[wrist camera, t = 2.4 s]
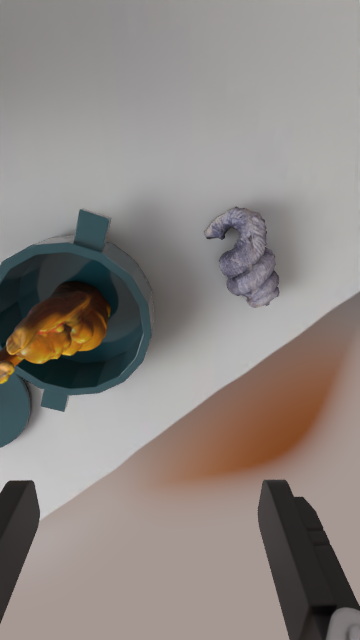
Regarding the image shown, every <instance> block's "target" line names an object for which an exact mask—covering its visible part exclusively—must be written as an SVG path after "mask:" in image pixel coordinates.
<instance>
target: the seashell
mask: <svg viewBox="0 0 360 640" xmlns="http://www.w3.org/2000/svg"><path fill="white" fill-rule="evenodd" d="M232 227H233V228H234V229H236V230H238V232H239V234H238V235H239V238H238V240H237V243H236V244H235V246H234V248H233V249H232V250H231V251H227V252H225V253H224V254H223V255H222V257H221V258H220V260H219V262H220V268H221V271H222V272H223V274H224V275H225V276H227V277H228V280H227V288H228V289H229V291H230V292H231V293H233V294H235V295H237V296H239V295H242V296H245V297H247V300H246V301H247V303H248V304H249V305H250V306H251V307H253V308H256V307H260V306H264V305H266V306H267V305H269V303H270V301H271V300H272V299H274V298H275V297H278V296H279V289H278V287H277V286H278V284H279V277H278V275H277V273H276V272H275V271H274V267H275V265H276V264H275V256H274V254H273V252H272V251H271V250H270V249H268V248H266V247H265V246H266V234H267V231H266V225H265V220H264V219H262V216H261V215H260V214H259V213H258V212H252V211H250V210H247V209H245V208H242V209H241V208H238V207H235V208H234V209H230V210H228V211H227V212H226V213H224V214H223V215H221V216H219V217H218V218H216V219H215V220H214V221H213V222H212V223H211V224H210V226H209V228H208V229H207V230H206V231H204V233H205V236H206V238H207V239H211V238H220V239H221V240H223V239H224V238H225V233H226V232H227V231H228V230H229V229H230V228H232Z"/></svg>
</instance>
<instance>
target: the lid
mask: <svg viewBox="0 0 360 640" xmlns="http://www.w3.org/2000/svg"><path fill="white" fill-rule="evenodd" d="M30 410H31V403H30V396H29V392H28V390H27V387H26V385H25V383H24V381H23V379H22V377H21V376H19V375H17V374H16V373H14V372H13V373H12V374H11V375H10V376H9V378H8V381H7V382H5V383H2V384H0V447H3V446H5V445H7V444H9V443H10V442H12V441H13V440H14V439H16V438H17V437H18V436H19V435H20V434H21V432H22V431H23V429H24V428H25V426H26V424H27V422H28V420H29V416H30Z"/></svg>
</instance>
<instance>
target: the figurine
mask: <svg viewBox="0 0 360 640" xmlns="http://www.w3.org/2000/svg"><path fill="white" fill-rule="evenodd" d="M110 312H111V306H110V304H109V303H108V302H107V301H106V300H105V298H104V296H103V295H102V294H101V292H100V291H99V290H98V289H97V288H96V287H94V286H92V285H89V284H86V283H84V282H80V281H69V282H65V283H62V284H60V285H59V286H58V287H57V288H56V289H55V290H54V292H53V294H52V295H51V296H50V297H49V298H47V299H45V300H43V301H42V302H40V303H38V304H37V305H35V306H33V307H32V309H31V310H30V311H29V313H28V315H27V316H26V317H25V318H24V319H23V320H22V321H21V322H20V323H19V324H18V325H17V326H16V327H15V329H14V332H13V333H12V334H11V335H10V337H9V338H8V339H7V341H6V345H5V346H4V347H3V348H2V350H1V351H0V384H2V383H5V382H7V381H8V378H9V376H10V375H11V374H12V373H13V372H14V371H15V368H14V367H15V366H16V365H17V364H18V363H19V362H21V361H22V360H23V359H26V360H28V361H29V362H32V363H37V364H42V363H45V362H46V361H48V360H49V359H58V358H59V357H60V356H61V354H63V355H68V356H71V355H73V354H75V353H76V352H77V351H88V350H91V349H94V348H96V347H97V346H99V345H100V343H101V342H102V340H103V338H104V337H105V336H106V330H107V324H108V317H110Z"/></svg>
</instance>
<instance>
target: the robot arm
mask: <svg viewBox="0 0 360 640" xmlns="http://www.w3.org/2000/svg"><path fill="white" fill-rule="evenodd" d="M39 518H40V509H39V504H38V499H37V494H36V490H35V485H34V482H33V481H32V480H27V481H8V482H7V483H6V485H5V486H4V488H3V490H2V491H1V493H0V623H1V620H2V618H3V615H4V613H5V610H6V608H7V605H8V602H9V600H10V597H11V595H12V592H13V590H14V587H15V585H16V582H17V580H18V577H19V574H20V572H21V569H22V567H23V564H24V561H25V559H26V556H27V554H28V552H29V549H30V546H31V544H32V541H33V538H34V536H35V533H36V531H37V528H38V523H39ZM258 522H259V527H260V532H261V535H262V539H263V543H264V546H265V550H266V554H267V558H268V561H269V565H270V569H271V572H272V576H273V580H274V583H275V587H276V591H277V594H278V598H279V602H280V606H281V609H282V613H283V616H284V620H285V624H286V627H287V631H288V635H289V639H290V640H360V606H359V604H358V602H357V600H356V598H355V596H354V594H353V591H352V589H351V587H350V585H349V583H348V581H347V578H346V577H345V574H344V572H343V570H342V568H341V565H340V563H339V561H338V559H337V557H336V555H335V552H334V550H333V548H332V546H331V545H330V543H329V540H328V538H327V535H326V533H325V531H324V530H323V526H322V524H321V522H320V520H319V518H318V516H317V513H316V511H315V510H314V509H313V508H312V507H311V505H310V504H309V503H308V502H307V501H306V500H305V499H304V498H303V497H294V496H293V494H292V492H291V489H290V487H289V484H288V483H287V481H286V480H264V481H263V484H262V489H261V495H260V500H259V506H258Z"/></svg>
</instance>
